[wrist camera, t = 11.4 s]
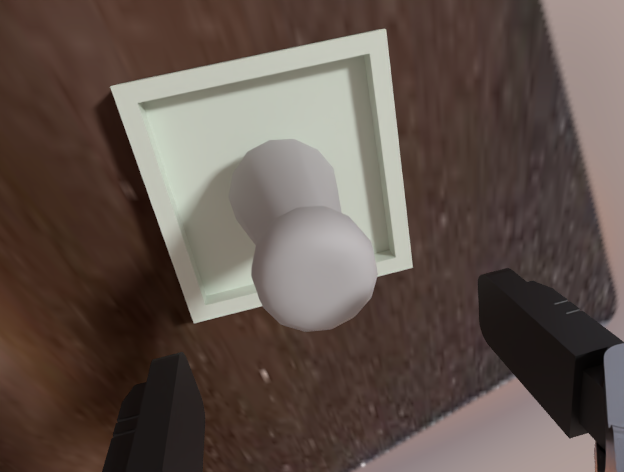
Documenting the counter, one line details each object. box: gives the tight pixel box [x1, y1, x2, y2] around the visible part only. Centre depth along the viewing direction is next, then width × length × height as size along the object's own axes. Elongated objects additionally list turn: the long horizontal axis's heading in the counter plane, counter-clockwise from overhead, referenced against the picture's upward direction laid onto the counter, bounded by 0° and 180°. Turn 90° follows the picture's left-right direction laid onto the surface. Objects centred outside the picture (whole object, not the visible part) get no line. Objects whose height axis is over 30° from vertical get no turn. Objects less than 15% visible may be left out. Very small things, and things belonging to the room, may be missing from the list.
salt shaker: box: [229, 139, 378, 332], centre depth 21 cm, size 6×6×13 cm
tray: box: [110, 29, 413, 323], centre depth 26 cm, size 14×14×2 cm
